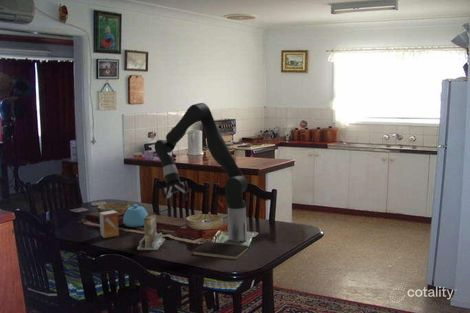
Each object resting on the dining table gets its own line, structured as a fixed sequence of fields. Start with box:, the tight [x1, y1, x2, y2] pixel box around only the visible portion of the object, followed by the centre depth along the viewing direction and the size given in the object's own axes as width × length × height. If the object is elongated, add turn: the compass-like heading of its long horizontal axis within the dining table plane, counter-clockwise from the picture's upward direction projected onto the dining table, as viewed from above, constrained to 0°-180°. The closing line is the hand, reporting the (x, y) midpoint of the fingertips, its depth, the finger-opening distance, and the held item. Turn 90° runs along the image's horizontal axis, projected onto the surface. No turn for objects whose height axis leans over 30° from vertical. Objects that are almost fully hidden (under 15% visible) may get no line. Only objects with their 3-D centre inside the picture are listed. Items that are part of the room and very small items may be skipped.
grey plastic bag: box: [136, 232, 166, 251], centre depth 269 cm, size 10×16×4 cm, turn 174°
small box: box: [98, 210, 120, 239], centre depth 286 cm, size 8×6×13 cm
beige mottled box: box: [143, 212, 158, 246], centre depth 268 cm, size 4×10×14 cm, turn 175°
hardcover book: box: [191, 241, 250, 260], centre depth 256 cm, size 16×23×2 cm
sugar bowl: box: [122, 204, 149, 228], centre depth 307 cm, size 15×15×12 cm
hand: (178, 202), depth 281 cm, fingers open, 8 cm apart
